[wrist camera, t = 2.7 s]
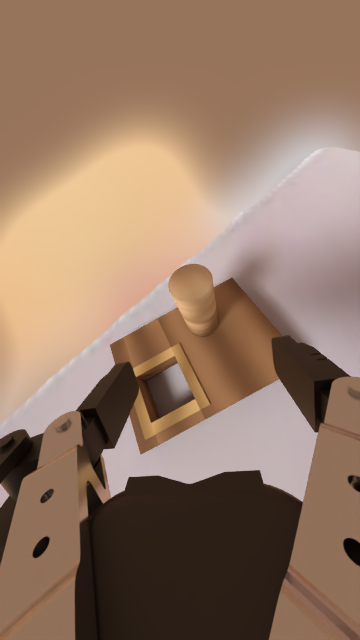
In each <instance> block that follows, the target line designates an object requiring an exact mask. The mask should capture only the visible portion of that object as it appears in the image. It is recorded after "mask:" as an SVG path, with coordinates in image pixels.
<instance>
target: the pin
mask: <svg viewBox="0 0 360 640" xmlns="http://www.w3.org/2000/svg"><path fill="white" fill-rule="evenodd" d="M168 286H169V291H170V293H171V295H172V297H173V299H174V301H175V303H176V305H177V307H178V308H179V310H180V312H181V314H182V316H183V318H184V320H185V322H186V324H187V326H188V328H189V330H190V332H191V333H192V334H194V335H195V336H198V337H206V336H209V335H211V334H212V333H214V331H215V330H216V329H217V326H218V318H217V310H216V302H215V294H214V287H213V279H212V274H211V272H210V271H209V270H208V269H207V268H206V267H204V266H202V265H199V264H189V265H185V266H183V267H181V268H179V269H177V270H176V271H175V272H174V273H173V274H172V276H171V277H170V280H169V285H168Z"/></svg>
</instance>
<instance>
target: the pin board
mask: <svg viewBox="0 0 360 640" xmlns="http://www.w3.org/2000/svg"><path fill="white" fill-rule="evenodd" d="M214 294H215V302H216V310H217V318H218V326H217V329H216V330H215V331H214V333H212V334H211V335H209V336H206V337H198V336H195V335H194V334H192V333H191V332H190V330H189V328H188V326H187V324H186V322H185V320H184V318H183V316H182V314H181V312H180V310H179V308H176V309H174V310H172V311H171V312H169V313H167V314H165V315H163V316H161V317H160V318H158V319H156V320H154V321H152V322H151V323H149V324H147V325H145V326H143V327H141V328H140V329H138V330H136V331H134V332H132V333H131V334H129V335H127V336H125V337H123V338H121V339H120V340H118V341H116V342H114V343H112V344H111V345H110V347H111V350H112V354H113V358H114V361H115V364H118V363H124V362H130V363H131V365H132V368H133V370H134V373H135V376H136V379H137V381H138V384H139V393H138V396H137V398H136V400H135V403H134V405H133V407H132V409H131V412H130V414H129V415H130V418H131V422H132V425H133V429H134V432H135V436H136V440H137V443H138V447H139V450H140V454H143V453H145V452H147V451H148V450H150V449H152V448H154V447H156V446H158V445H160V444H161V443H163V442H165V441H167V440H169V439H170V438H172V437H174V436H176V435H178V434H180V433H181V432H183V431H185V430H187V429H189V428H191V427H192V426H194V425H196V424H198V423H200V422H201V421H203V420H205V419H207V418H209V417H211V416H212V415H214V414H216V413H218V412H220V411H222V410H223V409H225V408H227V407H229V406H231V405H232V404H234V403H236V402H238V401H240V400H242V399H243V398H245V397H247V396H249V395H251V394H253V393H254V392H256V391H258V390H260V389H262V388H263V387H265V386H267V385H269V384H271V383H273V382H274V381H276V380H278V379H279V377H278V376H277V374H276V371H275V368H274V363H273V353H272V343H271V340H272V338H275V337H280V336H282V335H281V334H280V333H279V332H278V331H277V330H276V328H275V327H274V326H273V325H272V324H271V323H270V321H269V320H268V319H267V318H266V317H265V316H264V314H263V313H262V312H261V311H260V310H259V309H258V307H257V306H256V305H255V304H254V303H253V302H252V300H251V299H250V298H249V297H248V296H247V295H246V293H245V292H244V291H243V290H242V289H241V288H240V286H239V285H238V284H237V283H236V282H235V281H234V279H233V278H230V279H229V280H227V281H225V282H223V283H221V284H220V285H218V286H216V287H214ZM177 363H178V364H179V366H180V368H181V370H182V372H183V374H184V376H185V378H186V381H187V383H188V385H189V387H190V389H191V391H192V393H193V395H194V398H195V399H194V400H192V401H191V402H189V403H187V404H185V405H183V406H181V407H180V408H178V409H176V410H174V411H172V412H170V413H169V414H167V415H165V416H163V417H161V418H160V419H159V416H158V413H157V410H156V407H155V405H154V402H153V399H152V396H151V393H150V390H149V388H148V385H147V382H146V380H147V379H149V378H151V377H153V376H155V375H157V374H158V373H160V372H162V371H164V370H166V369H167V368H169V367H171V366H173V365H175V364H177Z"/></svg>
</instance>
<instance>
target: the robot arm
mask: <svg viewBox="0 0 360 640" xmlns="http://www.w3.org/2000/svg"><path fill="white" fill-rule="evenodd" d="M271 343H272V353H273V363H274V368H275V371H276V374H277V376H278V377H279V379H280V380H281V382H282V383H283V385H284V386H285V388H286V389H287V391H288V392H289V394H290V395H291V397H292V398H293V400H294V402H295V403H296V405H297V406H298V408H299V409H300V411H301V412H302V414H303V415H304V417H305V418H306V420H307V421H308V423H309V424H310V426H311V427H312V429H313V430H314V432H318V436H317V441H316V446H315V450H314V455H313V459H312V464H311V469H310V473H309V478H308V482H307V487H306V491H305V496H304V501H303V502H302V501H300V500H299V499H297V498H296V497H294V496H293V495H291V494H289V493H287V492H285V491H283V490H281V489H279V488H276V487H273V486H271V485H267V484H263V480H262V477H261V473H260V470H255V471H236V472H223V473H221V474H218V475H215V476H212V477H210V478H207V479H204V480H201V481H199V482H196V483H193V484H186V483H182V482H179V481H175V480H172V479H168V478H165V477H161V476H143V477H129V478H128V482H127V485H126V488H125V491H123V492H121V493H119V494H117V495H115V496H113V497H112V498H111V495H110V490H109V485H108V480H107V475H106V470H105V464H104V459H103V457H102V455H101V454H102V452H103V449H112V448H115V446H116V444H117V441H118V439H119V437H120V434H121V432H122V430H123V428H124V425H125V423H126V421H127V419H128V416H129V414H130V412H131V409H132V407H133V405H134V403H135V400H136V398H137V396H138V393H139V384H138V381H137V379H136V376H135V373H134V370H133V368H132V365H131V363H130V362H124V363H118V364H115V365H114V367H113V368H112V369H111V371H110V372H109V373H108V374H107V375H106V376H105V377H103V378H102V379H101V380H100V381H99V382H98V384H97V385H96V387H94V389H93V390H92V391H91V393H90V394H89V395H88V396H87V397H86V399H85V400H84V401H83V402H82V404H81V405H80V406H79V407H78V409H77V410H76V411H71V412H68V413H66V414H64V415H62V416H60V417H59V418H57V419H56V420H54V421H53V422H52V423H51V424H50V425H49V426H48V427H47V429H46V430H45V432H44V433H42V434H39V435H37V436H34V437H31V438H30V436H29V435H28V433H27V432H26V430H23V429H22V430H17V431H14V432H12V433H10V434H8V435H6V436H5V437H3V438H1V439H0V484H1V485H2V486H3V488H4V489H5V490H6V491H7V493H8V494H9V495H10V496H9V497H8V499H7V500H6V501H5V503H4V504H3V505H2V507H1V508H0V640H360V378H358V377H351V376H349V375H348V374H347V373H346V372H344V371H343V370H342V369H340V368H339V367H338V366H337V365H335V364H334V363H333V362H332V361H330V360H329V359H327V358H326V357H325V356H324V355H323V354H321V353H320V352H319V351H318V350H316V349H315V348H314V347H312V346H309V345H307V344H304V343H297V342H296V341H294V340H293V339H292V338H291V337H290V336H288V335H286V336H280V337H275V338H272V340H271Z"/></svg>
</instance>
